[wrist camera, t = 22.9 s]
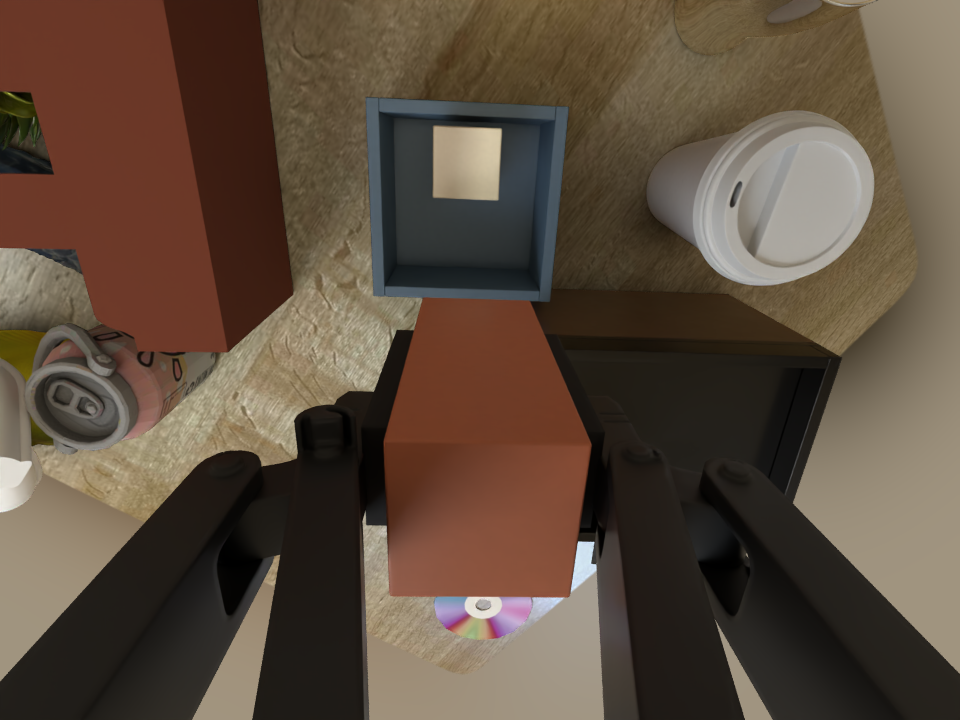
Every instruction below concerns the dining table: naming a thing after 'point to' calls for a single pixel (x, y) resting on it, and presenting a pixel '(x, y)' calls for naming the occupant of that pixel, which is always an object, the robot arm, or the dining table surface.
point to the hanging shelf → (152, 163)
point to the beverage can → (106, 386)
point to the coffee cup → (767, 196)
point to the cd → (482, 615)
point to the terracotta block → (483, 458)
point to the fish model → (25, 163)
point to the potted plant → (18, 117)
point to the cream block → (466, 162)
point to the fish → (24, 365)
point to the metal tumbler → (751, 20)
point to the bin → (464, 203)
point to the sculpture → (15, 442)
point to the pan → (698, 376)
